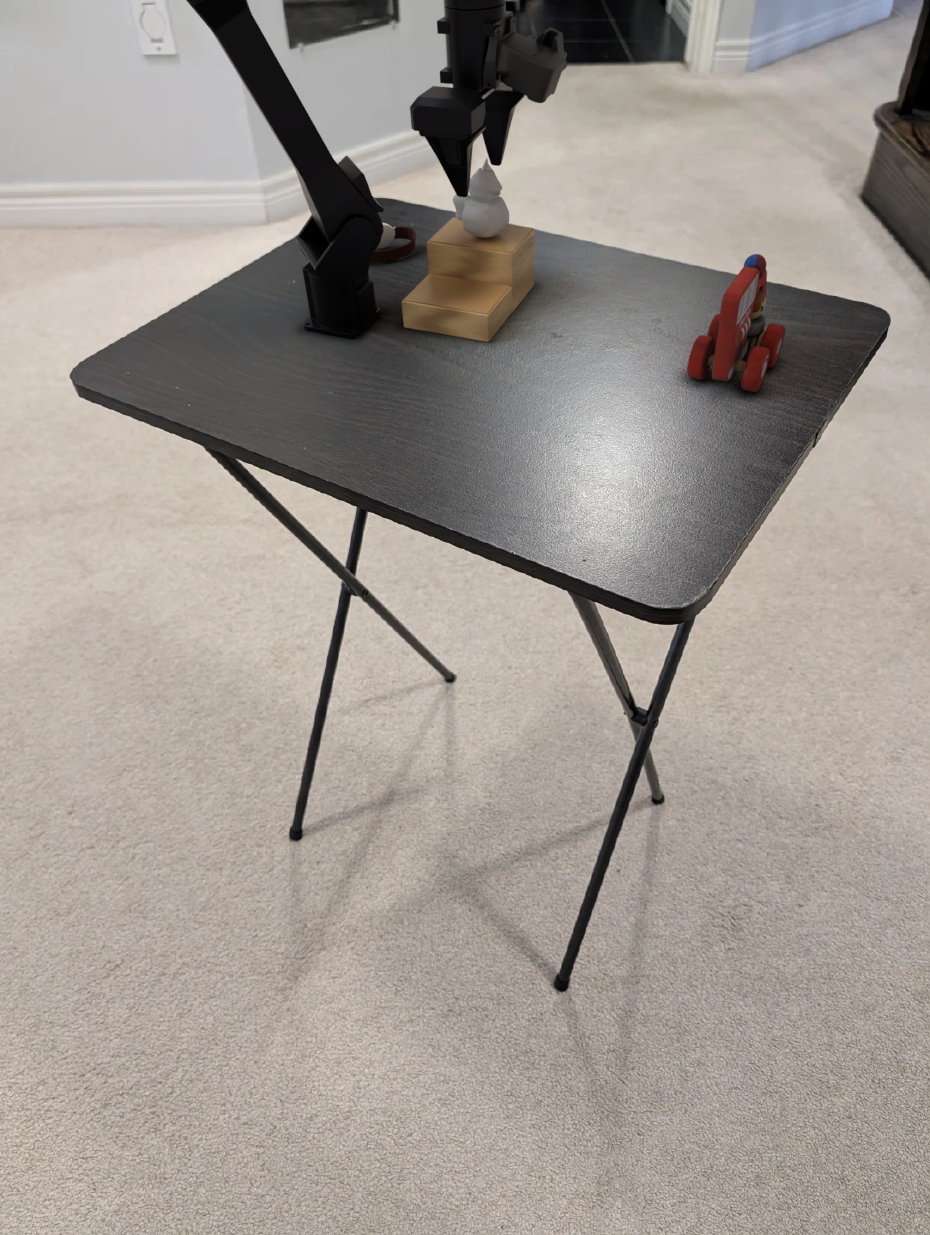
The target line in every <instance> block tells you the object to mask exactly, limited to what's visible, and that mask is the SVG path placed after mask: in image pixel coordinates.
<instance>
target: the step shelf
mask: <svg viewBox="0 0 930 1235" xmlns="http://www.w3.org/2000/svg"><path fill="white" fill-rule="evenodd" d="M535 248H536V229H535V228H534V227H529V226H521V225H514V224H508V225H507V226H506V227H505V228H504V229H503V230H502V231H501V232H500V233H499V234H497V235H496V236H494V237H490V238H482V237H477V236H474V235H472V234H471V233H468V232H466V231H465V230H464V228H463V224H462V221H461V220H458V219H457V218H456V216H455V217H452V218H451V219H449V221H448V222H446V223H445V224H444V225H443V226H442V227H441V228H440V229H439V230H437V232H436V233H434V235H432V236H431V238H430V239H428V241H427V242H426V250H427V254H426V255H427V267H428V274H427V275H426V276H425V277H424V278H423V279H422V280H421V281H420V282H419V283H418V284H417V285H416V286H415V287H414V288H413V289H412V290H411V291H410V292H409V293H408V294H407V295H406V296H405V297H404V298H403V299H402V300H401V311H402V312H401V313H402V321H403V328H406V329H411V330H418V331H422V332H423V331H424V332H429V333H434V334H440V335H445V336H451V337H456V338H461V339H467V340H468V339H469V340H474V341H479V342H484V343H485V342H486V343H489V342H490V341H491V340H492V338H494V336H495V335H496V333H497V332H498V331H499V330H500V329H501V327H502V326H503V325H504V323H505V322H506V321H507V320H508V319H509V317H510V316H511V315H512V313H513V312H514V311H515V310H516V308H517V307H519V305H520V304H521V302H522V301H523V300H524V299H525V297H526V296H527V295H528V294H529V293H530V291H531V290H532V289H533V287H534V286H535V256H536V255H535V252H536V249H535Z"/></svg>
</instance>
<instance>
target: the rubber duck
mask: <svg viewBox="0 0 930 1235" xmlns="http://www.w3.org/2000/svg"><path fill="white" fill-rule="evenodd" d="M502 190H503V185H502V184H501V182H500V180H499V179H498V177H497V175H496V173H495V170H493V168H492V167H491V166H490V164H489V161H488V157H486V158H485V160H484V163H483V164H482V167H479V168H477V170H476V172H474V173H473V174H472V176H470V185H469V193H468V196H467V197H458V196H457V195H456V194H455V195H454V196H453V197H452V203H453V205H454V208H455V218H457V219H458V220H461V221H462V224H463V228H464V230H465V231H466V232H468V233H471V234H472V235H474V236H477V237H482V238H490V237H494V236H496V235H497V234H499V233H500V232H501V231H502V230H503V229H504V228H505V227H506V226H507V225H509V223H510V211H509V208H508V206H507V204H506V202H505V200H504V198H503V197H502V196H500V195H501V194H502V193H501V191H502Z"/></svg>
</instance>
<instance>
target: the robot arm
mask: <svg viewBox="0 0 930 1235" xmlns="http://www.w3.org/2000/svg"><path fill="white" fill-rule="evenodd" d="M185 1H186V3H188V4H189V6H190V7H191V8H192V9H193V10H194V12H195V13H196V14H197V16H199V18H200V19H201V20H202V21H203V23H204V24H205V25H206V26H207V27H208V29H209V30H210V31H211V32H212V33H213V35H214V37H215V39H216V41H217V42H218V44H219V46H220V48H221V49H222V51H223V53H224V54H225V56H226V57H227V58H228V61H229V62H230V64H231V65H232V67H233V69H234V70H235V72H236V74H237V75H238V77H239V79H240V80H241V82H242V84H243V85H244V87H245V89H246V90H247V92H248V93H249V95H250V97H251V98H252V100H253V102H254V104H255V105H256V107H257V108H258V111H259V112H260V114H261V115H262V116H263V118H264V120H265V121H266V123H267V125H268V126H269V128H270V130H271V131H272V133H273V135H274V136H275V138H276V140H277V142H278V143H279V145H280V146H281V148H282V150H283V151H284V153H285V155H286V156H287V159H288V160H289V161H290V163H291V165H292V166H293V168H294V170H295V172H296V175H297V179H298V181H299V184H300V187H301V190H302V194H303V196H304V199H305V201H306V205H307V206H308V209H309V211H310V214H311V215H310V216H309V218H308V220H307V221H306V222H305V224H304V225H303V227H302V228H301V229H300V231H299V233H297V235H296V236H295V242H296V243H297V245H298V247H299V249H300V250H301V252H302V254H303V255H304V257H305V258H306V259H307V260H308V262H307V264H306V265H304V266H303V267H302V268H301V270H302V276H303V281H304V288H305V293H306V299H307V300H306V301H307V304H308V305H307V306H308V310H309V311H308V312H309V316H310V317H309V318H308V319H307V320H306V321H305V322H304V323H303V324H302V325H303V329H304V330H305V331H312V332H317V333H323V334H329V335H333V336H338V337H344V338H350V339H354V338H356V337H358V336H359V335H360V334H361V333H362V332H363V331H364V330H365V329H366V328H367V327H368V326H369V325H371V323H372V322H374V321H375V319H376V318H377V317H378V316H380V314H381V308H380V307H378V306H377V305H376V304H377V302H376V296H375V295H376V294H375V287H374V281H373V279H371V278H370V275H369V270H370V266H371V262H370V261H371V257H372V253H373V252H374V251H377V249H378V248H377V247H378V245H379V243H380V241H381V237H382V234H383V232H384V229H383V223H384V222H383V221H382V217H381V216H380V214H379V213H384V211H385V209H384V208H383V206H382V205H381V204H380V203H379V201H377V199H376V198H375V197H374V196H373V194H372V191H371V188H370V185H369V183H368V180H367V178H366V176H365V173H363V172H362V170H361V169H360V168H359V167H358V166H357V165H356V163H355V162H354V161H353V160H352V159H351V158H350V157H349V156H348V155H345V156H344V157H343V158H342V159H341V160H340V161H339V162H338V163H337V161H336V160H335V159H334V157H333V156H332V154H331V152H330V150H329V148H328V147H327V145H326V143H325V141H324V139H323V138H322V136H321V134H320V132H319V131H318V128H317V127H316V125H315V124H314V122H313V120H312V118H311V116H310V114H309V113H308V111H307V109H306V107H305V106H304V104H303V102H302V99H301V98H300V97H299V95H298V93H297V92H296V89H295V88H294V86H293V85H292V83H291V81H290V79H289V78H288V75H287V74H286V72H285V71H284V68H283V66H282V65H281V63H280V62H279V59H278V58H277V56H276V54H275V52H274V51H273V49H272V47H271V46H270V44H269V42H268V40H267V38H266V37H265V35H264V33H263V31H262V29H261V27H260V25H259V24H258V23H257V21H256V19H255V17H254V16H253V13H252V11H251V9H250V6H249V5H250V4H249V3H248V0H185ZM506 1H507V0H443V8H444V10H443V12H444V16H443V17H441V18H439V19H438V20H436V30H437V32H436V33H437V34H438V35H445V49H446V50H445V51H446V52H445V53H446V66H445V67H444V68H442V69H440V70H439V81H440V82H439V83H440V84H447V85H452V87H450V86H436V85H432V86H431V87H429V88H428V89H427V90H425V91H424V92H423V93H421V94H419V95H418V96H417V97H416V98H415V99H414V101H413V102H412V103H411V105H409V112H410V125H411V127H410V128H411V129H412V130H413V131H414V132H418V134H419V136H420V137H423V138H425V140H426V141H427V143H428V145H429V147H430V148H431V150H432V151H433V153H434V154H435V157H436V158H437V160H438V161H439V164H440V165H441V167H442V170H443V171H444V173H445V175H446V177H447V179H448V181H449V183H450V185H451V187H452V189H453V190H454V192H455V195H457V196H458V197H467V196H468V195H469V194H470V193H469V185H470V179H471V173H472V172H471V171H472V162H473V160H472V159H473V158H472V157H473V147H474V143H475V141H476V140H477V139H478V138H479V137H480V136H481V135H482V138H483V142H484V146H485V149H486V153H487V157H488V159H489V163H490V164H491V166H496V167H500V166H501V165H502V163H503V159H504V156H505V151H506V148H507V142H508V138H509V134H510V130H511V125H512V122H513V119H514V118H513V117H514V114H515V110H516V107H517V106H518V105H519V104H520V102H521V101H522V100H523V99H524V98H525V97H526V98H527V99H528V100H529V101H531V102H534V103H535V104H536V103H537V104H543V103H545V102H546V101H547V99H548V98H550V97H551V95H554V94H555V92H556V90H557V87H558V84H559V82H560V78H561V76H562V72H563V71H565V70H566V69H567V67H568V62H567V55H568V53H567V52H566V51H565V47H564V33H563V32H561V31H559V30H557V29H556V28H554V27H551V26H550V27H548V28H547V29H545V30H544V31H542V33H541V34H540V35H539V36H538V37H537V38H536V39H535V36H534V35H532V34H529V35H528V36H525V35H524V34H521V33H519V32H517V18H516V16H514V11H509V10H507V9H506V8H507V7H506V6H507V4H506V3H507V2H506ZM382 222H383V223H382Z"/></svg>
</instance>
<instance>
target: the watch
mask: <svg viewBox="0 0 930 1235" xmlns="http://www.w3.org/2000/svg"><path fill="white" fill-rule="evenodd" d="M382 223H383V229H384V232H383V234H382V237H381V241H380V243H379V245H378V247H377V248H376V249H383V250H375V251H374V252H373V253H372V257H371V261H370V263H389V262H395V261H396V260H399V259H402V258H405V257H407V256H409V255H410V254H412V253H413V251H414V250H415V248H416V237H417V232H416V231H415V230H414V229H413V228H411V227H409V226H394V227H393V226H391V225H390V224H388V223H386V222H383V221H382ZM399 239H404V240H408V241H409V242H408V243H406V244H404V245H400V246H397V247H393V248H386V247H388V246H389V245H390V244H391V243H392V242H393V240H399ZM384 248H385V249H384Z"/></svg>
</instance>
